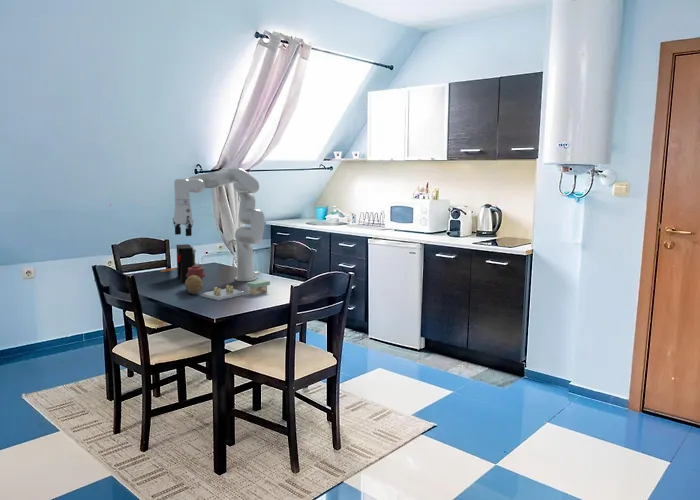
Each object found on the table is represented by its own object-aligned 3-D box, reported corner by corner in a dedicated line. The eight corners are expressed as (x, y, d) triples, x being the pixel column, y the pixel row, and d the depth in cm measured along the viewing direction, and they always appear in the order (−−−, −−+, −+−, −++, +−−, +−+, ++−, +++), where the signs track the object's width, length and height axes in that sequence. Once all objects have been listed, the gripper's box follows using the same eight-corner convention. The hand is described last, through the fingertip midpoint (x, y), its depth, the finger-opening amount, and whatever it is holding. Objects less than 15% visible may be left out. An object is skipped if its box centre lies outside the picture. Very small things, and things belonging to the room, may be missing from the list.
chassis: (228, 290, 295) (228, 282, 294) (245, 294, 286) (245, 286, 285) (200, 296, 281) (200, 287, 280) (217, 300, 272) (217, 291, 272)
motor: (188, 267, 366) (186, 260, 365) (208, 271, 352) (207, 263, 351) (157, 277, 349) (156, 270, 348) (177, 282, 335) (176, 274, 334)
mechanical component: (193, 286, 306) (208, 287, 303) (183, 289, 296) (199, 290, 294) (192, 264, 304) (208, 265, 302) (182, 267, 295) (198, 268, 292)
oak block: (262, 291, 295) (262, 283, 294) (267, 292, 293) (267, 284, 292) (249, 293, 288) (249, 286, 287) (254, 294, 286) (254, 287, 285)
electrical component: (196, 282, 318) (196, 247, 315) (178, 283, 314) (177, 248, 311) (193, 276, 334) (192, 244, 331) (176, 277, 330) (175, 244, 327)
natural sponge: (187, 292, 290) (186, 273, 289) (204, 292, 291) (204, 273, 290) (183, 295, 281) (183, 276, 280) (201, 295, 282) (201, 276, 281)
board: (262, 283, 296) (262, 279, 296) (270, 284, 292) (270, 281, 292) (246, 286, 287) (246, 282, 287) (254, 287, 284) (254, 284, 283)
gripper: (198, 203, 283) (199, 235, 285) (179, 201, 294) (180, 233, 296) (185, 203, 277) (186, 237, 279) (166, 202, 288) (167, 234, 290)
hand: (183, 235), depth 288 cm, fingers open, 9 cm apart
